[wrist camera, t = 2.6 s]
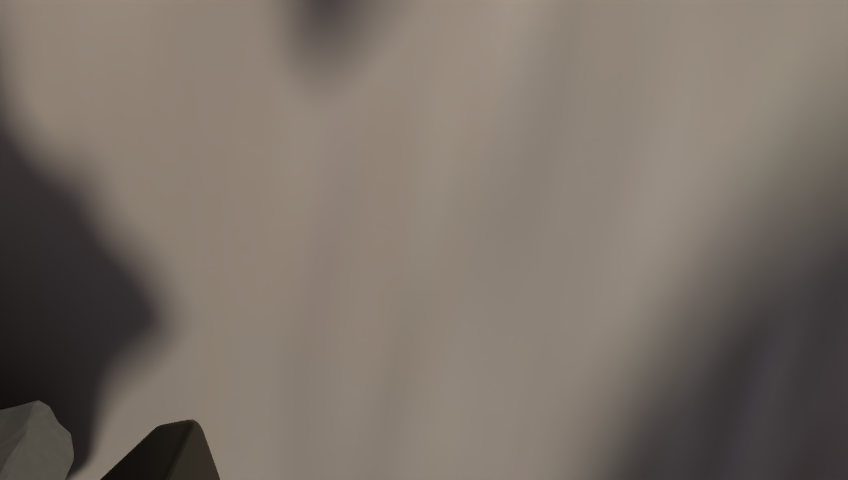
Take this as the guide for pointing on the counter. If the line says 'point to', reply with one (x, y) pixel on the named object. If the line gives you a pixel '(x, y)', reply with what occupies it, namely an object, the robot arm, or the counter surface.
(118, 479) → the robot arm
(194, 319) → the counter surface
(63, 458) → the egg carton
